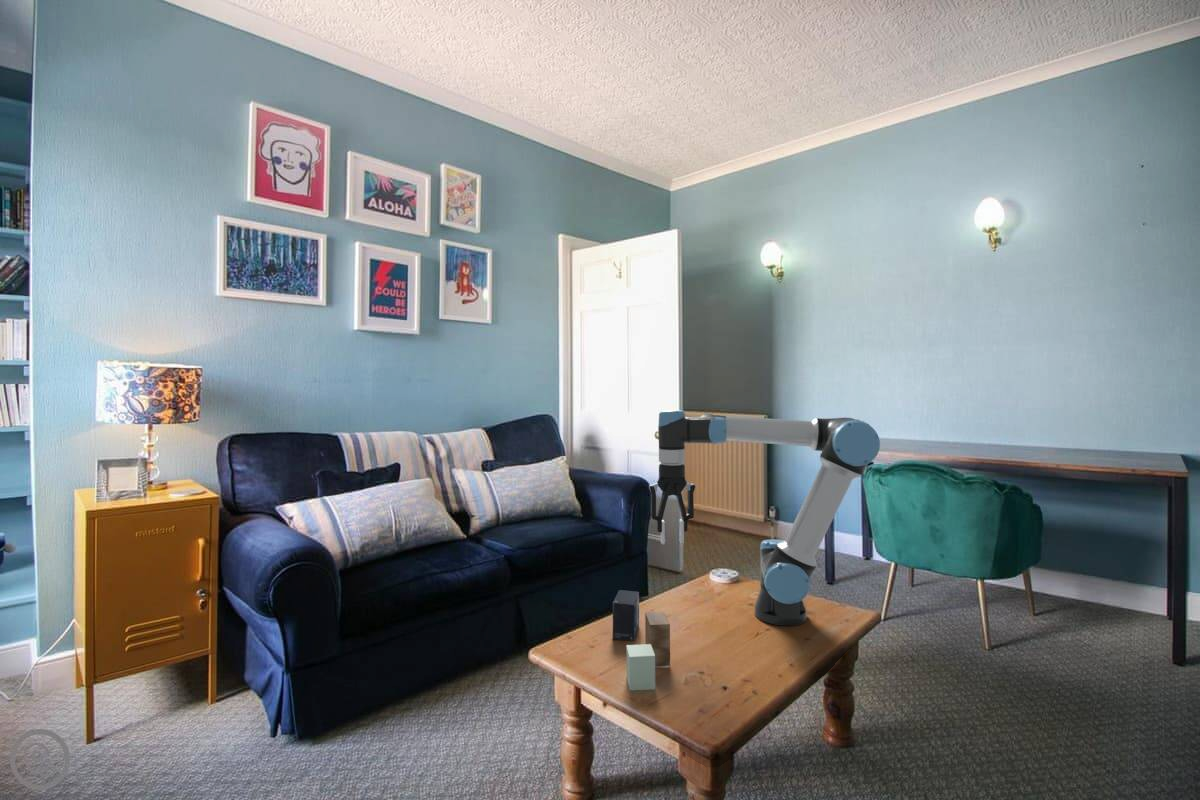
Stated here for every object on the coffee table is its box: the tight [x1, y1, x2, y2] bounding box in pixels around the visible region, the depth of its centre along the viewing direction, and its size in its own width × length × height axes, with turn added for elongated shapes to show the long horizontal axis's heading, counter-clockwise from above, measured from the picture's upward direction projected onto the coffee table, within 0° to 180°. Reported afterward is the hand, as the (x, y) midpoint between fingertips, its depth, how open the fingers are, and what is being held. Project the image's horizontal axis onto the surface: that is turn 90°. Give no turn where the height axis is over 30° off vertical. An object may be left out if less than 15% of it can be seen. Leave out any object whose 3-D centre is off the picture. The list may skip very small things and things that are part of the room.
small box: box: [611, 589, 640, 642], centre depth 167 cm, size 11×6×10 cm, turn 168°
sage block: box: [625, 643, 656, 691], centre depth 139 cm, size 6×6×8 cm
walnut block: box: [644, 611, 671, 669], centre depth 150 cm, size 5×8×11 cm, turn 4°
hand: (672, 542), depth 170 cm, fingers open, 5 cm apart
